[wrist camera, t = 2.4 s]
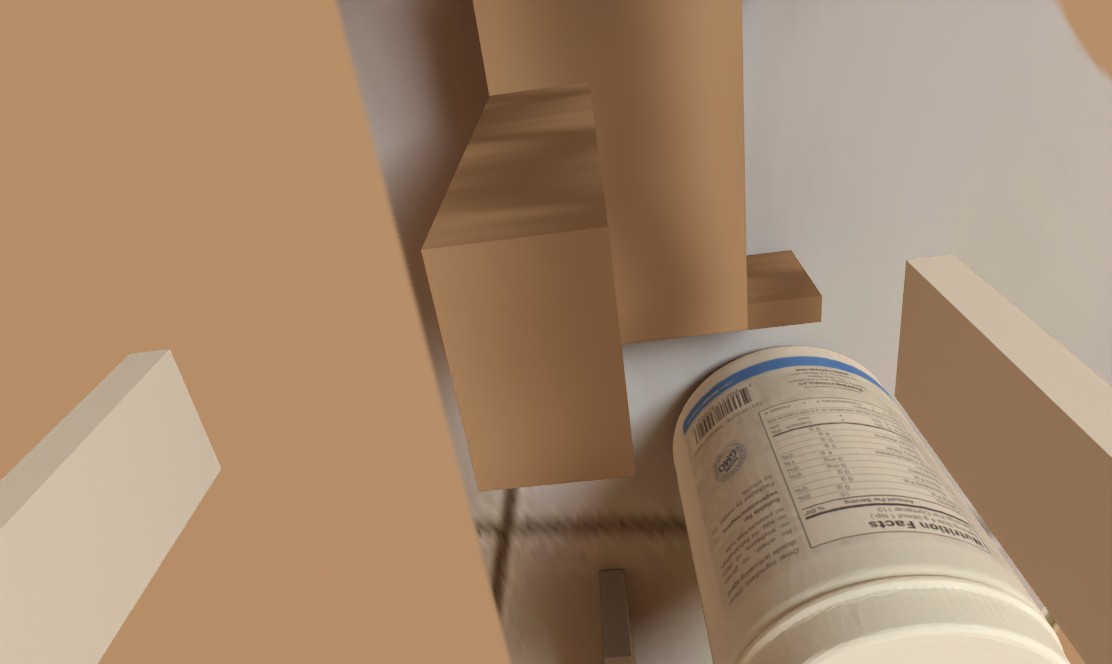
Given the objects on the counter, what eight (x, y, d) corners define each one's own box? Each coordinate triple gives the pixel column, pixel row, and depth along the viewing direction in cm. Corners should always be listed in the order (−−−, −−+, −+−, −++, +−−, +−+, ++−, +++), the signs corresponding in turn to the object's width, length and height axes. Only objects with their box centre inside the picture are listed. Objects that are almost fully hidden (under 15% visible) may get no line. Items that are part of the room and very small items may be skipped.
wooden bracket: (538, 303, 30) (512, 634, 16) (478, -58, 24) (355, -25, 10) (791, 274, 30) (992, 594, 16) (795, -107, 23) (1136, -145, 9)
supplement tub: (865, 514, 35) (1037, 854, 23) (662, 514, 36) (717, 852, 23) (909, 332, 31) (1158, 630, 18) (676, 333, 31) (756, 629, 18)
